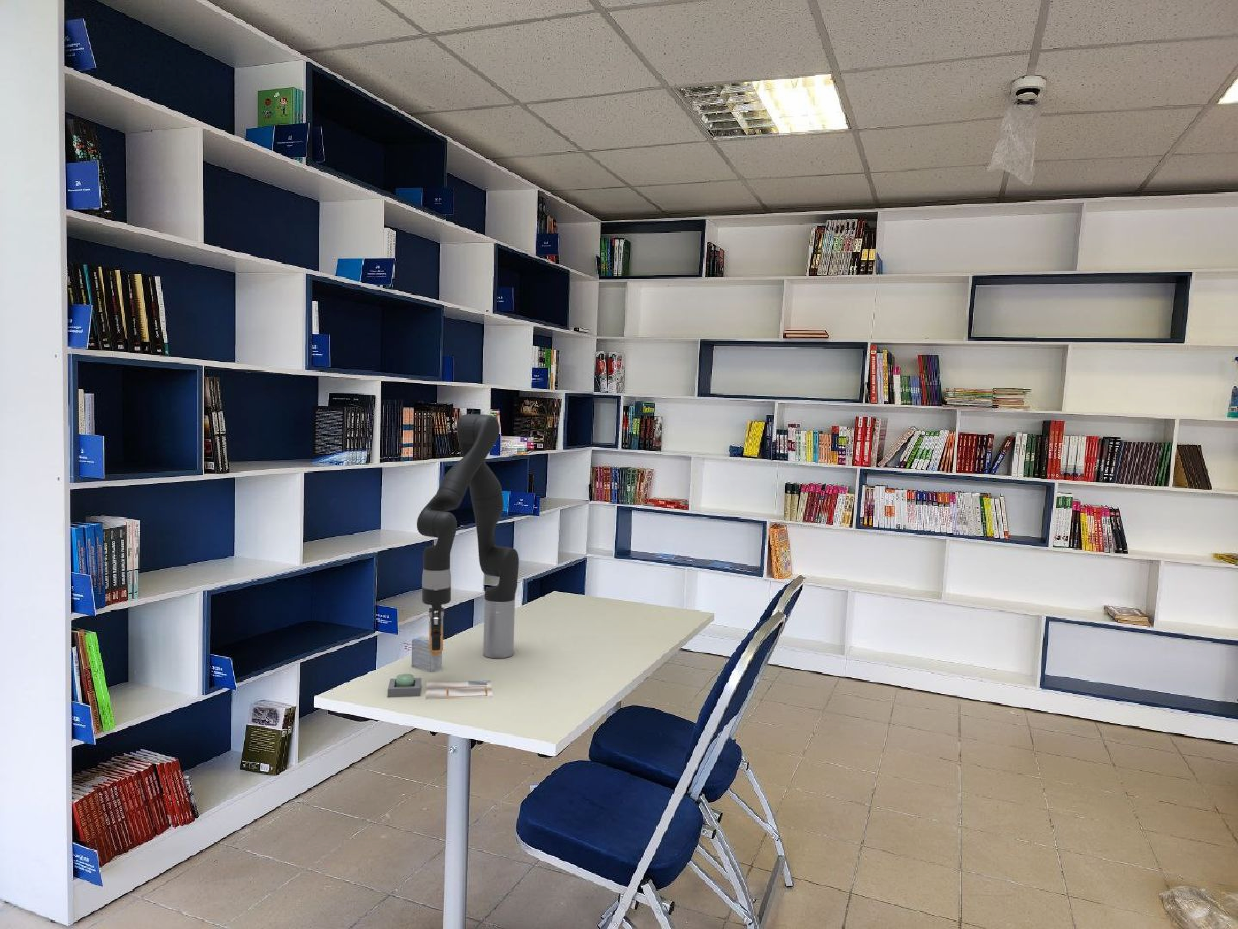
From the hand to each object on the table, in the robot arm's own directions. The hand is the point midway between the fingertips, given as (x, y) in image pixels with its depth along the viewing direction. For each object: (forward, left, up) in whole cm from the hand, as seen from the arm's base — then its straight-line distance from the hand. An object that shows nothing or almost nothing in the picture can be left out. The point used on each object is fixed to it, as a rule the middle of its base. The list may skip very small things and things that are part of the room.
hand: (436, 647), depth 216 cm
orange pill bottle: (0, 0, -2) cm, 2 cm away
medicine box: (-14, -3, -11) cm, 18 cm away
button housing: (+5, -8, -10) cm, 14 cm away
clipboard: (+5, +6, -10) cm, 13 cm away
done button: (+5, -8, -9) cm, 13 cm away
